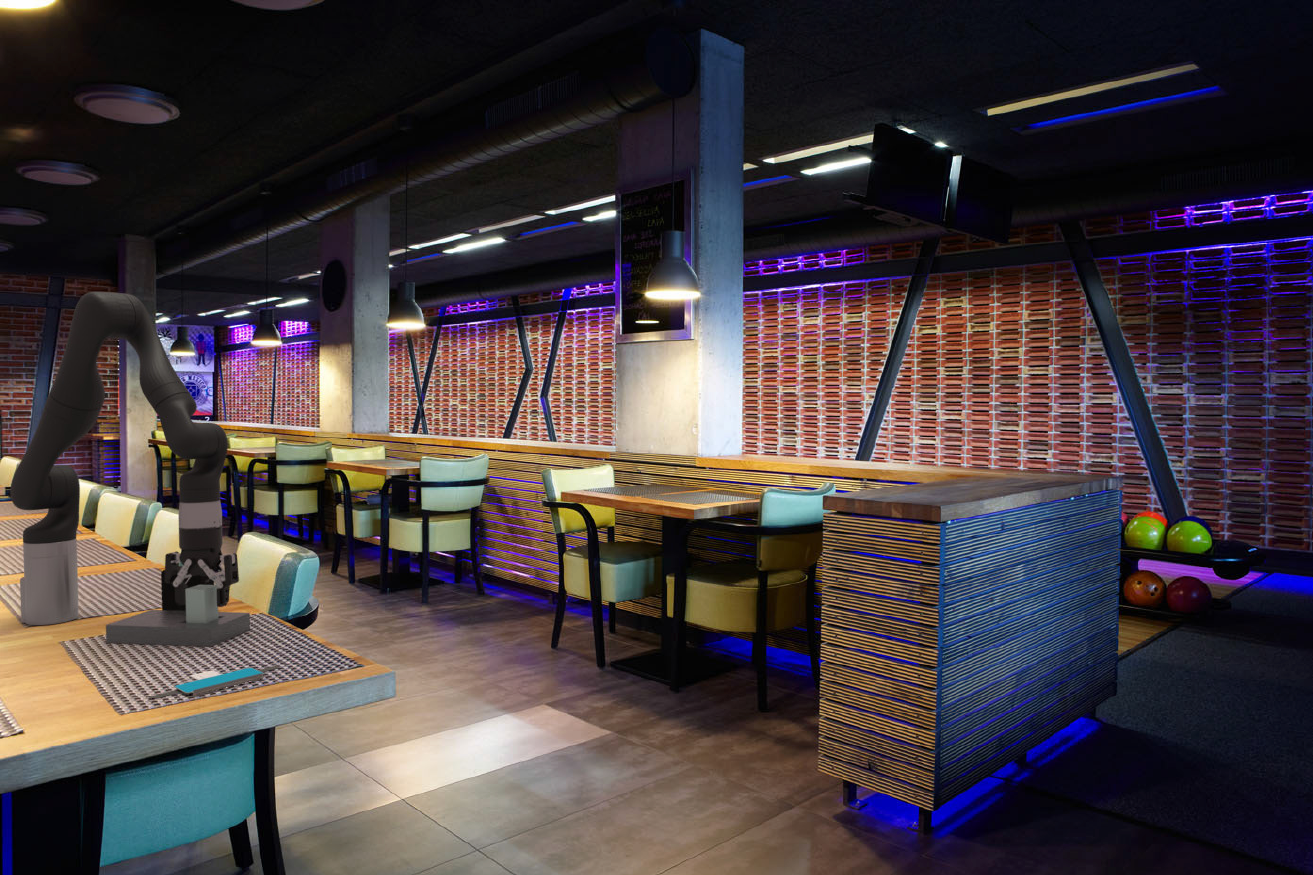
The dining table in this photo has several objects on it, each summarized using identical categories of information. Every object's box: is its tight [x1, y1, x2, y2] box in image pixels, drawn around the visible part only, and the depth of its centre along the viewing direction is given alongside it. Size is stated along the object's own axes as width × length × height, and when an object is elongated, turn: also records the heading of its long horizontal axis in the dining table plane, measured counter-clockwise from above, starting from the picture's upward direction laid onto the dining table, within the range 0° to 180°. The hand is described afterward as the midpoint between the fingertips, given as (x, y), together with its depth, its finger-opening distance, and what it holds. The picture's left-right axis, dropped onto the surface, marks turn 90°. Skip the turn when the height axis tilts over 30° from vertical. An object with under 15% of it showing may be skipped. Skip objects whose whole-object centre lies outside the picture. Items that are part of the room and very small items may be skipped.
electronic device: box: [160, 565, 215, 611], centre depth 182 cm, size 4×10×10 cm, turn 79°
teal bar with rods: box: [149, 665, 280, 699], centre depth 137 cm, size 20×12×2 cm, turn 140°
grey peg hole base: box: [105, 609, 251, 648], centre depth 164 cm, size 22×12×4 cm, turn 83°
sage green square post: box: [185, 584, 219, 624], centre depth 163 cm, size 4×4×10 cm
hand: (202, 605), depth 163 cm, fingers open, 8 cm apart
